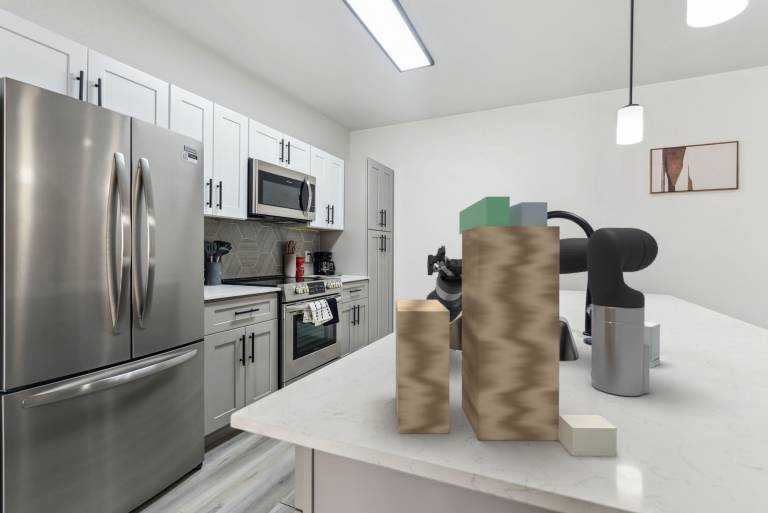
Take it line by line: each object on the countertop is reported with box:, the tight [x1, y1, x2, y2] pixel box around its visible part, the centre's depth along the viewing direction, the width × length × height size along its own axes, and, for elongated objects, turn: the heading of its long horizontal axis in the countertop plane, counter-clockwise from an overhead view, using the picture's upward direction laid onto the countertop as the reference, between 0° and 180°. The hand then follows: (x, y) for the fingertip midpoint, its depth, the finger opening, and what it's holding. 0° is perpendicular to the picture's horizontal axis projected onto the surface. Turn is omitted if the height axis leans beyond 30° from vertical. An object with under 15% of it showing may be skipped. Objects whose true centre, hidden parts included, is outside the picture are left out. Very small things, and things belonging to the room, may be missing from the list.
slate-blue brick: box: [510, 201, 548, 226], centre depth 60 cm, size 4×6×4 cm, turn 0°
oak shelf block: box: [461, 225, 561, 441], centre depth 60 cm, size 12×12×32 cm
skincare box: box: [644, 320, 661, 369], centre depth 94 cm, size 10×6×10 cm, turn 36°
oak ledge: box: [395, 299, 451, 434], centre depth 63 cm, size 8×14×19 cm, turn 0°
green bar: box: [458, 196, 511, 235], centre depth 64 cm, size 4×20×4 cm, turn 0°
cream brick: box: [558, 414, 618, 457], centre depth 52 cm, size 6×4×4 cm, turn 89°
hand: (463, 249), depth 78 cm, fingers open, 8 cm apart
